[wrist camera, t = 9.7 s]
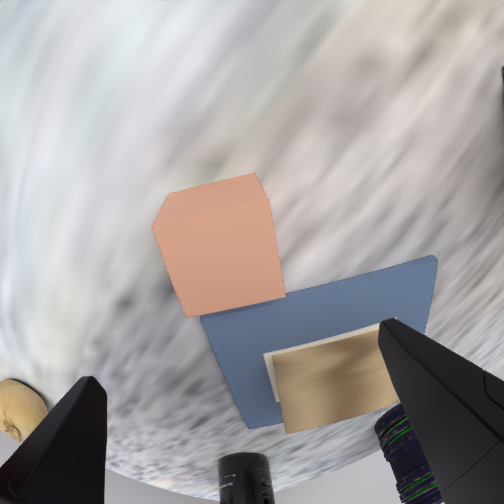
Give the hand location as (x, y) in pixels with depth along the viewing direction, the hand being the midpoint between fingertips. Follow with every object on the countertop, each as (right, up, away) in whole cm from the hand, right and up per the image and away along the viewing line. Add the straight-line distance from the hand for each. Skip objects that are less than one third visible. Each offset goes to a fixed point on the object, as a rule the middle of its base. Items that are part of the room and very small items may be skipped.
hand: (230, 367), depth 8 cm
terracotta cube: (-1, +5, +10) cm, 11 cm away
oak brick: (+7, -6, +15) cm, 18 cm away
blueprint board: (+7, -6, +16) cm, 19 cm away
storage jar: (+22, -19, +25) cm, 38 cm away
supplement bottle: (-1, -25, +25) cm, 35 cm away
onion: (-26, -13, +16) cm, 33 cm away
